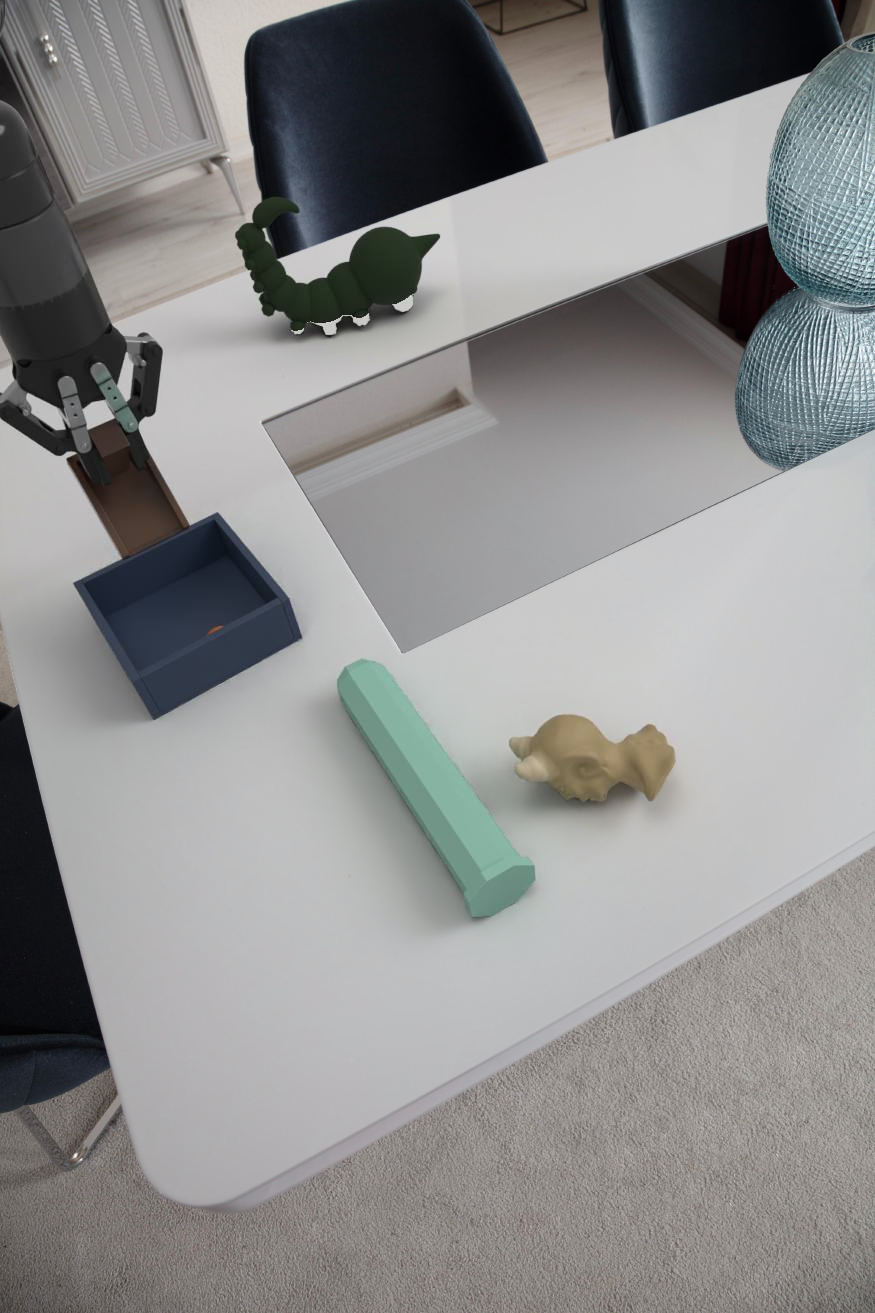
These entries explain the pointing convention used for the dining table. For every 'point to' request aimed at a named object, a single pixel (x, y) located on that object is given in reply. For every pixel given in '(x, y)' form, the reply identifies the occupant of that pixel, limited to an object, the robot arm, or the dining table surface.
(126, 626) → the tote
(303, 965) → the dining table surface
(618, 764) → the tan toy creature
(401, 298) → the toy figurine
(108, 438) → the scoop
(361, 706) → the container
